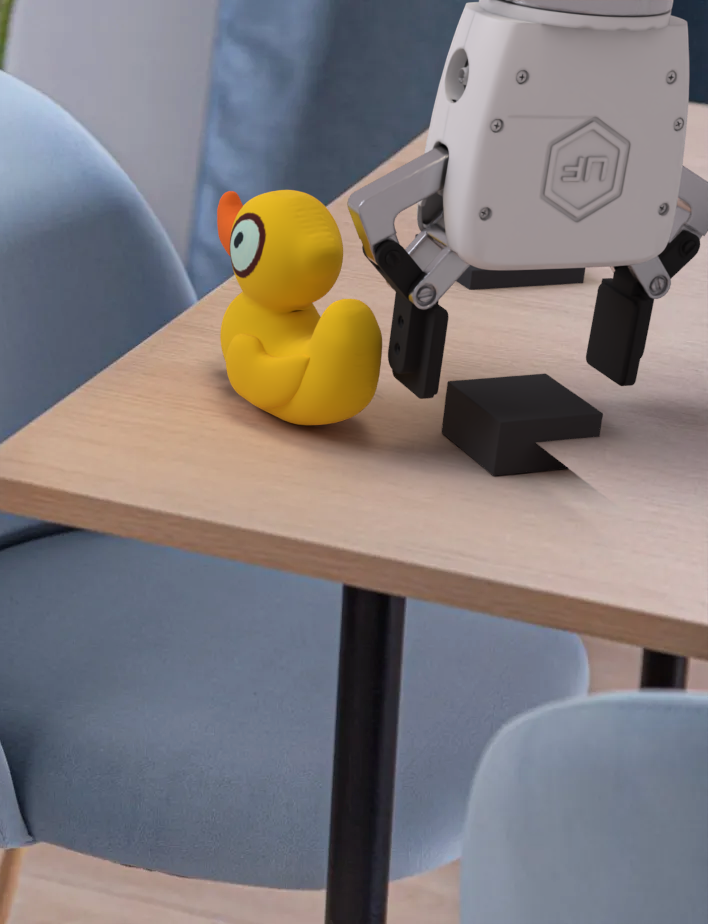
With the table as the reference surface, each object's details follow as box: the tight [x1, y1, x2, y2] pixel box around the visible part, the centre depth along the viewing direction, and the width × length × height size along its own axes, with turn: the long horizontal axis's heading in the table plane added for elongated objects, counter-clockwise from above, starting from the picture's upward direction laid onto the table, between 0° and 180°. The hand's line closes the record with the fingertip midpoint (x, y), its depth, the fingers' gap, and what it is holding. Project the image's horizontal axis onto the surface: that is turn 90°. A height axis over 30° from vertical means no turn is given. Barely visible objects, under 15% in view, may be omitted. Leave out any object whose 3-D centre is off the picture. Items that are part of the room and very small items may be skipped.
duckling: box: [216, 189, 383, 426], centre depth 79 cm, size 11×5×10 cm, turn 32°
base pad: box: [414, 233, 586, 291], centre depth 99 cm, size 7×7×2 cm
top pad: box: [441, 373, 604, 477], centre depth 78 cm, size 5×5×2 cm
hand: (513, 381), depth 77 cm, fingers open, 9 cm apart
